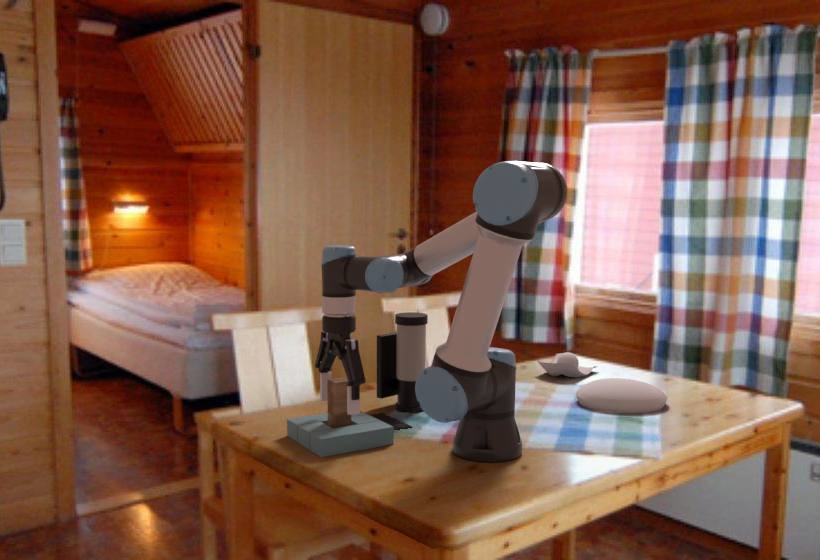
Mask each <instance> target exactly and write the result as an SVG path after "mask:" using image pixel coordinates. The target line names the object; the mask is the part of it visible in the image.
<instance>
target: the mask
mask: <svg viewBox="0 0 820 560" xmlns="http://www.w3.org/2000/svg"><path fill="white" fill-rule="evenodd" d="M537 363H538V364H539V365H540V367H541V368H543V370H544V371H545V372H547V374H548V375H550V376H552V377H558V376H560V375H563V376H565V377H568V378H569V377H570V378H582V377H583V378H584V377H585V376H588V375H589V374H590V373H591V372H592V371H593V370H594V369H595V368H596V369H597V366H596V365H595V366H591V367H587V366H586V367H585V366H582V365H579V364H580V363H579V359H578V357H577V356H576V355H575V353H573V352H567V351H566V352H563V353H561V352H560V353H555V356H554V360H553V361H552V362H545V361H539V360H537Z"/></svg>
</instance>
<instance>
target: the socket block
mask: <svg viewBox="0 0 820 560" xmlns="http://www.w3.org/2000/svg"><path fill="white" fill-rule="evenodd" d="M394 432H395V431H394V427H393V426H391V425H389V424H387V423H385V422H383V421H380V420H378V419H376V418H374V417H372V416H370V414H369V413H366V412H363V411H362V410H360V413H358V414H351V426H345V427H339V428H331V427H329V426H328V412H324V413H317V414H311V415H310V414H309V415H305V416H298V417H292V418H287V419H286V436H287V437H288V438H290V439H291V440H293V441H295V442H296V443H297V444H299V445H300V446H302V447H304V448H305V449H307V450H309V451H311V452H312V453H314V454H315V455H316V456H318V457H320V458H326V457H331V456H335V455H341V454H346V453H351V452H359V451H363V450H369V449H374V448H379V447H380V448H381V447H385V446H390V445H394V443H395V442H394V441H395V439H394V437H395V434H394Z"/></svg>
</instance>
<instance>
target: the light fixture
mask: <svg viewBox="0 0 820 560" xmlns="http://www.w3.org/2000/svg"><path fill="white" fill-rule="evenodd" d="M428 321H429V318H428V313H423V312H412V311H411V312H400V313H399V312H398V313H395V314H394V324H396V332H389V333H384V334H378V335H376V398H377V399H380V400H381V399H384V398H385V399H386V398H390V397H393V396H397V402H395V404H394V408H395V410H396V411H397V412H400V413H401V412H402V413H407V412H409V413H410V414H411V413H412V412H415V413H420V412H421V411H422V412H424V411H423V410H422V408H421V407H420V403H419V401H418V400H417V397H416V393H415V384H416V380H417V377H418V376H419V374H420V373H421V372H422V371H423V370H424V369H426V368H427V367H426V366H427V364H426V363H427V361H426V359H427V358H426V357H427V356H426V355H427V354H426V353H427V348H426V347H427V342H426V341H427V325H428Z"/></svg>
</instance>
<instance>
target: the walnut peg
mask: <svg viewBox="0 0 820 560" xmlns="http://www.w3.org/2000/svg"><path fill="white" fill-rule="evenodd" d="M348 382H349V381H348V378H347V377H344V376H342V377H335V378H332V379H327V390H328V400H327V413H328V426H329V427H331V428H339V427H345V426H351V415H348V414H347V384H348Z"/></svg>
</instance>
